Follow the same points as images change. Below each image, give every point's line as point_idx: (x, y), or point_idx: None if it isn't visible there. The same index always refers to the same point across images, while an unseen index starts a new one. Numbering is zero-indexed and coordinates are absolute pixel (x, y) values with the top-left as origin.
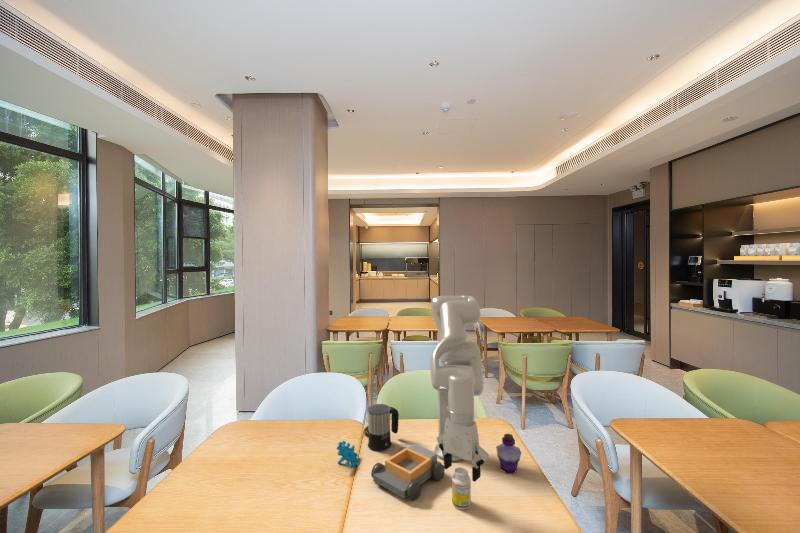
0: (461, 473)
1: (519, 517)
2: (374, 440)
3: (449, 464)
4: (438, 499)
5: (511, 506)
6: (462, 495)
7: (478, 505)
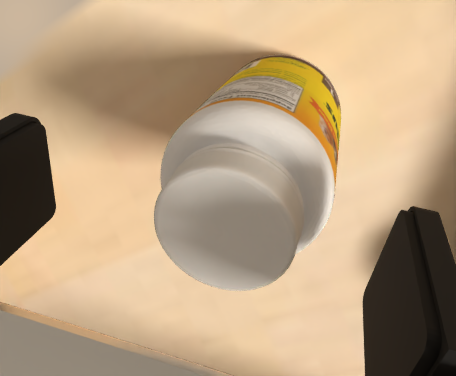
0: (197, 193)
1: None
2: None
3: (379, 283)
4: (447, 81)
5: (71, 202)
6: (227, 85)
7: None
